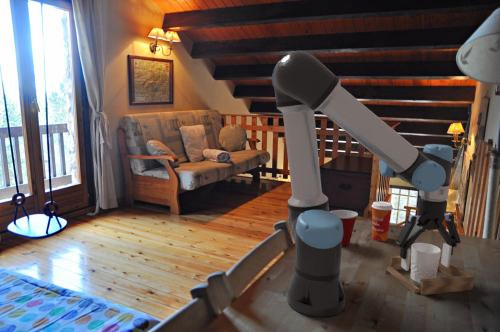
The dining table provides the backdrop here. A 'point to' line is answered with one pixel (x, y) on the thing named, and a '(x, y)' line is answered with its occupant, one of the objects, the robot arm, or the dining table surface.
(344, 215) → the plastic cup
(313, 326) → the dining table surface
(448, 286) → the bay
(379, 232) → the paper cup
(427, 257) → the white cup
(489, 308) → the dining table surface
